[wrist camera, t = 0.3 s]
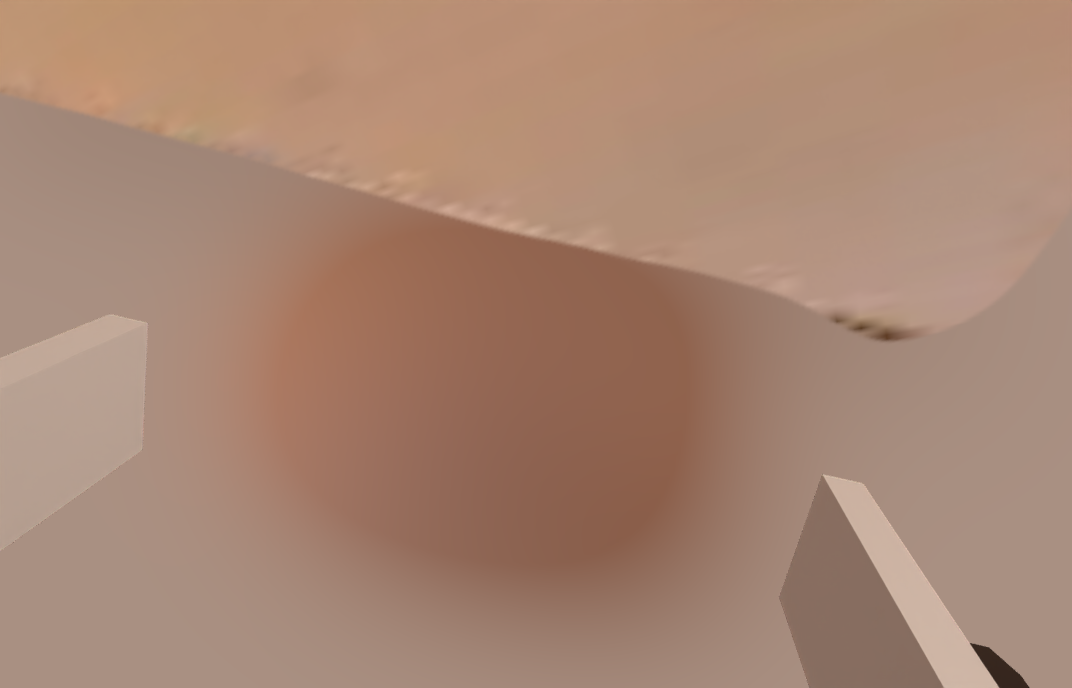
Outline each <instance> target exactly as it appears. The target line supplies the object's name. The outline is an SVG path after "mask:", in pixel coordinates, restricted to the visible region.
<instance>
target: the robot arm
mask: <svg viewBox="0 0 1072 688" xmlns="http://www.w3.org/2000/svg"><path fill="white" fill-rule="evenodd" d="M147 334H148V322H143V321H139V320H134V319H130V318H126V317H121V316H117V315H112V314H109V315H107V316H104V317H102V318H99V319H96V320H94V321H91V322H89V323H86V324H84V325H81V326H79V327H76V328H74V329H71V330H69V331H66V332H64V333H62V334H59V335H56V336H54V337H51V338H49V339H47V340H44V341H41V342H39V343H36V344H34V345H31V346H29V347H26V348H24V349H21V350H18V351H16V352H14V353H11V354H8V355H6V356H3V357H1V358H0V551H2V550H3V549H4V548H6V547H7V546H9V545H10V544H11V543H13V542H14V541H16V540H17V539H18V538H20V537H21V536H23V535H24V534H25V533H27V532H28V531H30V530H31V529H32V528H34V527H35V526H37V525H38V524H39V523H41V522H42V521H44V520H45V519H46V518H48V517H49V516H50V515H52V514H53V513H55V512H56V511H57V510H59V509H60V508H62V507H63V506H65V505H66V504H67V503H69V502H70V501H72V500H73V499H74V498H76V497H77V496H78V495H80V494H82V493H83V492H84V491H86V490H87V489H89V488H90V487H91V486H93V485H94V484H96V483H97V482H98V481H100V480H101V479H102V478H104V477H105V476H107V475H108V474H110V473H111V472H112V471H114V470H115V469H117V468H118V467H119V466H121V465H122V464H123V463H125V462H126V461H128V460H129V459H130V458H132V457H133V456H135V455H136V454H138V453H139V452H140V451H142V450H143V427H144V404H145V403H144V402H145V381H146V380H145V379H146V357H147ZM779 599H780V601H781V604H782V607H783V610H784V613H785V616H786V619H787V622H788V625H789V628H790V631H791V634H792V637H793V640H794V643H795V646H796V649H797V652H798V655H799V658H800V661H801V664H802V667H803V670H804V673H805V676H806V679H807V682H808V685H809V688H1029V686H1028V685H1027V684H1026V682H1025V681H1024V679H1023V678H1022V677H1021V676H1020V674H1018V673H1017V672H1016V671H1015V670H1014V669H1013V668H1012V667H1010V666H1009V665H1008V664H1007V663H1006V662H1005V661H1004V660H1002V659H1001V658H1000V657H999V656H998V655H997V654H996V653H994V652H993V651H992V650H991V649H990V648H989V647H984V646H980V645H976V644H972V643H969V642H968V640H967V639H966V637H965V636H964V634H963V633H962V631H961V630H960V628H959V627H958V625H957V624H956V622H955V621H954V619H953V618H952V616H951V615H950V613H949V612H948V610H947V609H946V607H945V606H944V604H943V603H942V601H941V600H940V598H939V597H938V595H937V594H936V592H935V591H934V589H933V588H932V586H931V585H930V583H929V582H928V580H927V579H926V577H925V576H924V574H923V573H922V571H921V570H920V568H919V567H918V565H917V564H916V562H915V561H914V559H913V558H912V556H911V555H910V553H909V552H908V550H907V549H906V547H905V546H904V544H903V543H902V541H901V540H900V538H899V537H898V535H897V534H896V532H895V531H894V529H893V528H892V526H891V525H890V523H889V522H888V521H887V519H886V517H885V516H884V514H883V513H882V511H881V510H880V508H879V507H878V505H877V504H876V502H875V501H874V499H873V497H872V496H871V495H870V493H869V491H868V490H867V489H866V487H865V485H864V484H863V483H859V482H855V481H850V480H846V479H842V478H837V477H832V476H828V475H823V474H822V476H821V480H820V482H819V485H818V488H817V491H816V494H815V496H814V499H813V502H812V505H811V508H810V511H809V514H808V517H807V520H806V522H805V525H804V528H803V531H802V534H801V536H800V539H799V542H798V545H797V548H796V550H795V553H794V556H793V559H792V562H791V565H790V568H789V570H788V573H787V576H786V579H785V582H784V585H783V588H782V591H781V593H780V596H779Z"/></svg>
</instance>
